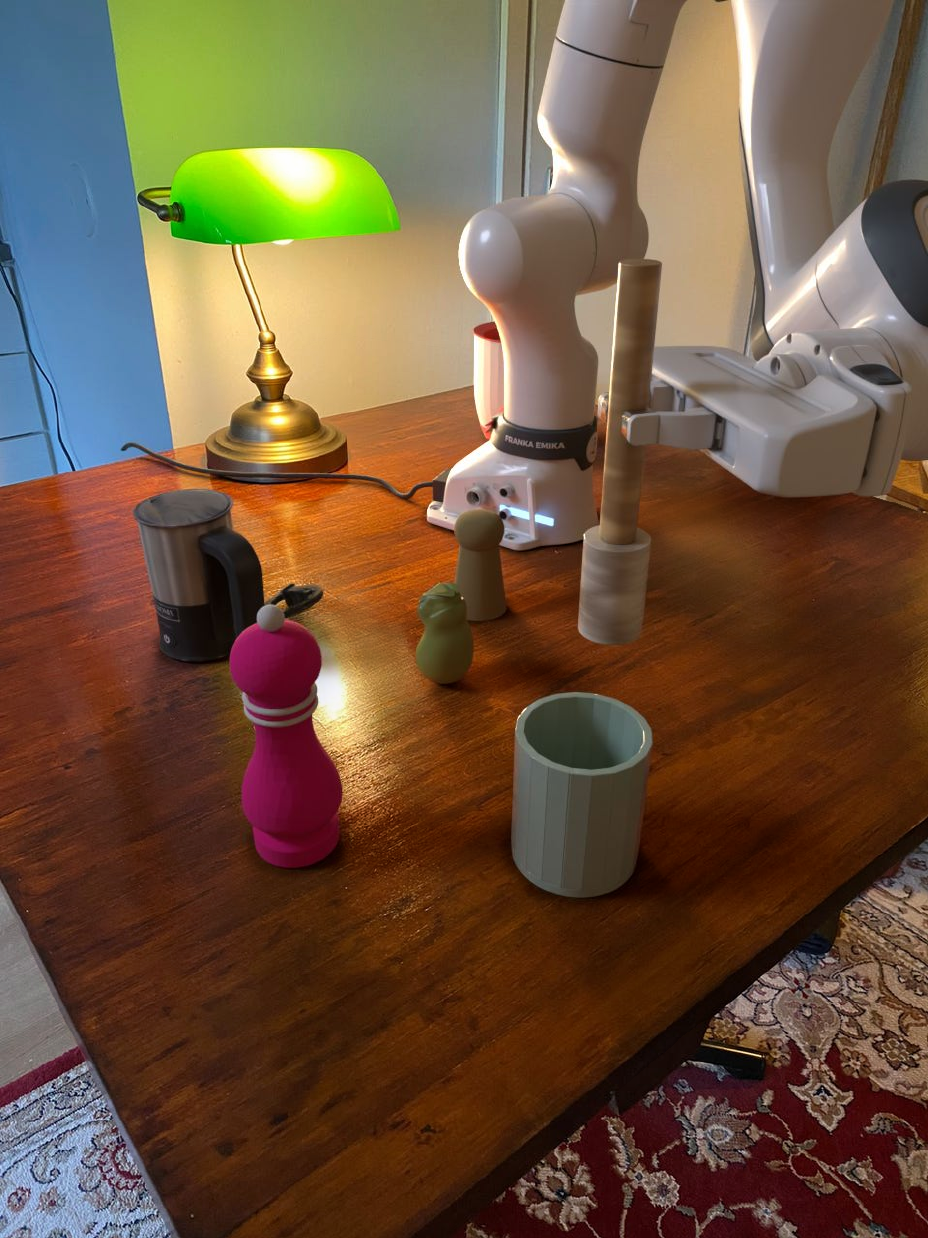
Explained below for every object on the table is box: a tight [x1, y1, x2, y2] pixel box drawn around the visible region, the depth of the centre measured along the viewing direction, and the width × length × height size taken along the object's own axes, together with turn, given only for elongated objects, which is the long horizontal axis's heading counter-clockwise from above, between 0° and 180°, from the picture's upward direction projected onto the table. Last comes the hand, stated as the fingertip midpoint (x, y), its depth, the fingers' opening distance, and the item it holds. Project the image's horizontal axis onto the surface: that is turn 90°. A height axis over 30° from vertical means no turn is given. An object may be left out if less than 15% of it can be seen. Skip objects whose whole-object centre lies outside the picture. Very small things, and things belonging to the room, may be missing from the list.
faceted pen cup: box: [510, 691, 654, 899], centre depth 64 cm, size 9×9×11 cm
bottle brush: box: [577, 258, 663, 646], centre depth 57 cm, size 4×4×24 cm
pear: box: [414, 582, 475, 685], centre depth 84 cm, size 6×5×10 cm
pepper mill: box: [228, 605, 344, 869], centre depth 63 cm, size 7×7×20 cm
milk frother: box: [131, 488, 324, 663], centre depth 91 cm, size 14×16×15 cm
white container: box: [472, 320, 504, 441], centre depth 143 cm, size 16×17×20 cm
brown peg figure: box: [453, 509, 507, 622], centre depth 96 cm, size 6×6×11 cm
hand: (613, 419), depth 55 cm, fingers closed on bottle brush, 2 cm apart
